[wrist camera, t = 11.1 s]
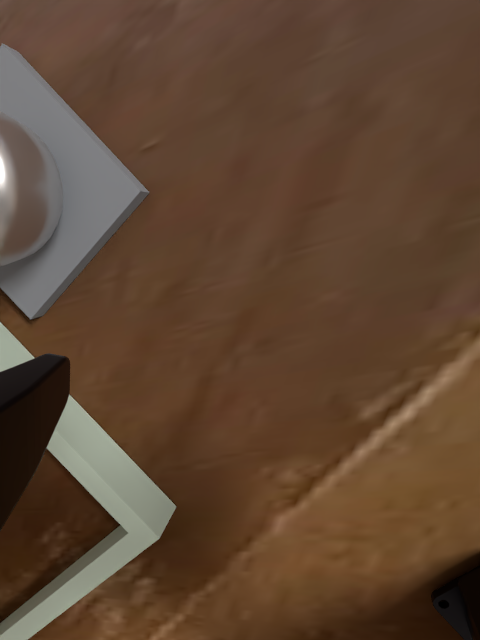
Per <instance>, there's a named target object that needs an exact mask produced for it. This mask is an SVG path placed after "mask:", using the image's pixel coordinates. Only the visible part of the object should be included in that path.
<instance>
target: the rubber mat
mask: <svg viewBox="0 0 480 640" xmlns="http://www.w3.org/2000/svg"><path fill="white" fill-rule="evenodd" d="M0 112H2V113H5V114H6V115H8V116H10V117H11V118H13V119H15V120H16V121H18V122H20V123H22V124H23V125H25V126H26V127H28V128H29V129H30V130H32V131H33V132H35V133H36V134H37V135H38V136H39V137H40V139H41V140H42V141H43V142H44V143H45V144H46V146H47V147H48V149H49V150H50V152H51V154H52V155H53V157H54V160H55V162H56V165H57V167H58V169H59V173H60V176H61V181H62V185H63V206H62V212H61V215H60V218H59V221H58V224H57V226H56V228H55V230H54V232H53V234H52V236H51V237H50V238H49V240H48V241H47V242H46V243H45V245H44V246H43V247H41V248H40V249H39V250H38V251H36V252H35V253H34V254H31V255H29V256H27V257H25V258H23V259H20V260H17V261H15V262H12V263H9V264H7V265H4V266H0V288H1V289H2V290H3V291H4V292H5V293H6V294H7V295H8V296H9V297H10V298H11V300H12V301H13V302H14V303H15V304H16V305H17V306H18V307H19V308H20V309H21V310H22V311H23V312H24V313H25V314H26V315H27V316H28V317H29V318H30V319H34V318H37V317H40V316H43V315H44V314H45V313H46V312H47V311H48V309H49V308H50V307H51V306H52V305H53V304H54V302H55V301H56V300H57V299H58V298H59V297H60V296H61V294H62V293H63V292H64V291H65V290H66V289H67V287H68V286H69V285H70V284H71V283H72V282H73V281H74V279H75V278H76V277H77V276H78V275H79V274H80V272H81V271H82V270H83V269H84V268H85V267H86V266H87V264H88V263H89V262H90V261H91V260H92V259H93V257H94V256H95V255H96V254H97V253H98V252H99V251H100V249H101V248H102V247H103V246H104V245H105V244H106V242H107V241H108V240H109V239H110V238H111V237H112V236H113V234H114V233H115V232H116V231H117V230H118V229H119V227H120V226H121V225H122V224H123V223H124V222H125V221H126V219H127V218H128V217H129V216H130V215H131V214H132V212H133V211H134V210H135V209H136V208H137V207H138V206H139V204H140V203H141V202H142V201H143V200H144V199H145V197H146V196H147V195H148V194H149V191H148V190H147V189H146V188H145V187H144V186H143V185H142V184H141V183H140V182H139V181H138V180H137V179H136V178H135V176H134V175H133V174H132V173H131V172H130V171H129V170H128V169H127V168H126V167H125V166H124V165H123V164H122V163H121V162H120V160H119V159H118V158H117V157H116V156H115V155H114V154H113V153H112V152H111V151H110V150H109V149H108V148H107V147H106V145H105V144H104V143H103V142H102V141H101V140H100V139H99V138H98V137H97V136H96V135H95V134H94V133H93V132H92V130H91V129H90V128H89V127H88V126H87V125H86V124H85V123H84V122H83V121H82V120H81V119H80V118H79V117H78V115H77V114H76V113H75V112H74V111H73V110H72V109H71V108H70V107H69V106H68V105H67V104H66V103H65V102H64V100H63V99H62V98H61V97H60V96H59V95H58V94H57V93H56V92H55V91H54V90H53V89H52V88H51V87H50V85H49V84H48V83H47V82H46V81H45V80H44V79H43V78H42V77H41V76H40V75H39V74H38V73H37V72H36V70H35V69H34V68H33V67H32V66H31V65H30V64H29V63H28V62H27V61H26V60H25V59H24V58H23V57H22V56H21V54H20V53H19V52H17V51H15V50H14V49H12V48H10V47H8V46H7V45H5V44H2V45H1V47H0Z"/></svg>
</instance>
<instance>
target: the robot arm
mask: <svg viewBox="0 0 480 640" xmlns="http://www.w3.org/2000/svg"><path fill="white" fill-rule="evenodd" d="M69 390H70V361H69V359H68V358H67V357H65V356H60V355H54V354H44V355H42V356H39V357H37V358H34V359H32V360H29V361H27V362H24V363H22V364H19V365H17V366H14V367H11V368H9V369H6V370H4V371H1V372H0V531H1V529H2V527H3V526H4V524H5V522H6V521H7V519H8V517H9V516H10V514H11V512H12V511H13V509H14V507H15V506H16V504H17V502H18V501H19V499H20V497H21V496H22V494H23V492H24V491H25V489H26V487H27V486H28V484H29V482H30V480H31V479H32V477H33V475H34V473H35V471H36V469H37V467H38V465H39V463H40V461H41V459H42V457H43V455H44V452H45V450H46V448H47V446H48V444H49V441H50V439H51V437H52V435H53V433H54V430H55V428H56V426H57V424H58V421H59V419H60V417H61V415H62V413H63V410H64V408H65V406H66V404H67V401H68V397H69ZM431 599H432V602H433V606H434V607H435V609H436V610H437V611H438V612H439V613H440V614H441V615H442V616H443V617H444V618H445V620H446V621H447V622H448V623H449V624H450V625H451V626H452V627H453V628H454V629H455V630H456V631H457V632H458V633H459V634H460V635H461V637H462V638H463V639H464V640H480V566H479V567H477V568H475V569H473V570H472V571H470V572H468V573H466V574H464V575H462V576H461V577H459V578H457V579H455V580H453V581H451V582H450V583H448V584H446V585H444V586H442V587H440V588H439V589H437V590H435V591H434V592H433V593H432V595H431ZM441 600H446V601H444V602H441Z"/></svg>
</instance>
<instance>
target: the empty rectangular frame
mask: <svg viewBox="0 0 480 640" xmlns="http://www.w3.org/2000/svg"><path fill="white" fill-rule="evenodd" d="M32 359H34V357H33V356H32V355H31V354H30V353H29V352H28V351H27V349H26V348H25V347H24V346H23V345H22V344H21V343H20V342H19V341H18V340H17V339H16V338H15V337H14V336H13V335H12V334H11V333H10V332H9V331H8V330H7V329H6V328H5V326H4V325H3V324H2V323H1V322H0V372H1V371H4V370H6V369H9V368H11V367H14V366H17V365H19V364H22V363H24V362H27V361H29V360H32ZM47 449H48V450H49V451H50V452H51V453H52V454H53V455H54V456H55V457H56V458H57V459H58V460H59V461H60V463H61V464H62V465H63V466H64V467H65V468H66V469H67V470H68V471H69V472H70V473H71V474H72V475H73V476H74V477H75V478H76V479H77V480H78V481H79V482H80V483H81V484H82V485H83V486H84V488H85V489H86V490H87V491H88V492H89V493H90V494H91V495H92V496H93V497H94V498H95V499H96V500H97V501H98V502H99V503H100V504H101V505H102V506H103V507H104V508H105V509H106V510H107V511H108V512H109V514H110V515H111V516H112V517H113V518H114V519H115V520H116V521H117V522H118V523H119V524H120V526H119V527H117V528H116V529H115V530H114V531H113V532H111V533H110V534H109V535H108V536H106V537H105V538H104V539H103V540H102V541H100V542H99V543H98V544H97V545H95V546H94V547H93V548H92V549H90V550H89V551H88V552H87V553H86V554H84V555H83V556H82V557H81V558H79V559H78V560H77V561H76V562H75V563H73V564H72V565H71V566H70V567H68V568H67V569H66V570H65V571H64V572H62V573H61V574H60V575H59V576H57V577H56V578H55V579H54V580H52V581H51V582H50V583H49V584H48V585H46V586H45V587H44V588H43V589H41V590H40V591H39V592H38V593H37V594H35V595H34V596H33V597H32V598H30V599H29V600H28V601H27V602H25V603H24V604H23V605H22V606H21V607H19V608H18V609H17V610H16V611H14V612H13V613H12V614H11V615H10V616H8V617H7V618H6V619H5V620H3V621H2V622H1V623H0V640H28V639H29V638H30V637H32V636H33V635H34V634H35V633H37V632H38V631H39V630H41V629H42V628H43V627H45V626H46V625H47V624H49V623H50V622H51V621H52V620H54V619H55V618H56V617H58V616H59V615H60V614H62V613H63V612H64V611H66V610H67V609H68V608H69V607H71V606H72V605H73V604H75V603H76V602H77V601H79V600H80V599H81V598H82V597H84V596H85V595H86V594H88V593H89V592H90V591H92V590H93V589H94V588H96V587H97V586H98V585H99V584H101V583H102V582H103V581H105V580H106V579H107V578H109V577H110V576H111V575H113V574H114V573H115V572H116V571H118V570H119V569H120V568H122V567H123V566H124V565H126V564H127V563H128V562H129V561H131V560H132V559H133V558H135V557H136V556H137V555H139V554H140V553H141V552H143V551H144V550H145V549H146V548H148V547H149V546H150V545H152V544H153V543H154V542H156V541H157V540H158V539H160V537H161V535H162V533H163V531H164V529H165V527H166V525H167V524H168V522H169V520H170V518H171V516H172V514H173V512H174V510H175V509H176V506H175V504H174V503H173V502H172V501H171V500H170V499H169V498H168V497H167V496H166V495H165V494H164V493H163V492H162V491H161V490H160V489H159V488H158V487H157V486H156V485H155V484H154V482H153V481H152V480H151V479H150V478H149V477H148V476H147V475H146V474H145V473H144V472H143V471H142V470H141V469H140V468H139V467H138V466H137V465H136V464H135V463H134V462H133V460H132V459H131V458H130V457H129V456H128V455H127V454H126V453H125V452H124V451H123V450H122V449H121V448H120V447H119V446H118V445H117V444H116V443H115V442H114V441H113V440H112V438H111V437H110V436H109V435H108V434H107V433H106V432H105V431H104V430H103V429H102V428H101V427H100V426H99V425H98V424H97V423H96V422H95V421H94V420H93V419H92V418H91V417H90V415H89V414H88V413H87V412H86V411H85V410H84V409H83V408H82V407H81V406H80V405H79V404H78V403H77V402H76V401H75V400H74V399H73V398H72V397H71V396H70V395H69V397H68V401H67V404H66V406H65V408H64V410H63V413H62V415H61V417H60V419H59V421H58V424H57V426H56V428H55V430H54V433H53V435H52V437H51V439H50V441H49V444H48V446H47Z"/></svg>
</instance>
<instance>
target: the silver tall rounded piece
mask: <svg viewBox="0 0 480 640" xmlns="http://www.w3.org/2000/svg"><path fill="white" fill-rule="evenodd" d="M62 206H63V185H62V181H61V176H60V173H59V169H58V167H57V165H56V162H55V160H54V157H53V155H52V154H51V152H50V150H49V149H48V147H47V146H46V144H45V143H44V142H43V141H42V140H41V139H40V137H39V136H38V135H37V134H36V133H35V132H33V131H32V130H30V129H29V128H28V127H26V126H25V125H23V124H22V123H20V122H18V121H16V120H15V119H13V118H11V117H10V116H8V115H6V114H5V113H2V112H0V266H4V265H7V264H9V263H12V262H15V261H17V260H20V259H23V258H25V257H27V256H29V255H31V254H34V253H35V252H36V251H38V250H39V249H40V248H41V247H43V246H44V245H45V243H46V242H47V241H48V240H49V238H50V237H51V236H52V234H53V232H54V230H55V228H56V226H57V224H58V221H59V218H60V215H61V212H62Z"/></svg>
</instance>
